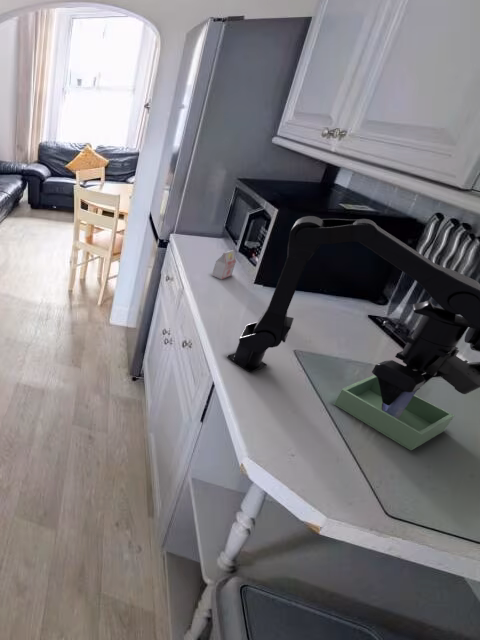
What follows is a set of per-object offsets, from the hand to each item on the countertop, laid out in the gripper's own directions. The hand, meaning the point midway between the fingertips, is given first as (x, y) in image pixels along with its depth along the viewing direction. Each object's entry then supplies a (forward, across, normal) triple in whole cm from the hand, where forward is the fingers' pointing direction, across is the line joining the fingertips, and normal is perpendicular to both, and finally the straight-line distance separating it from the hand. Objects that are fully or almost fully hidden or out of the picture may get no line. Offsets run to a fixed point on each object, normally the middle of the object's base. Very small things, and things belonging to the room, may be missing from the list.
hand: (397, 398), depth 84 cm
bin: (+5, 0, 0) cm, 5 cm away
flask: (+3, 0, 0) cm, 3 cm away
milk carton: (+6, +30, +62) cm, 69 cm away
